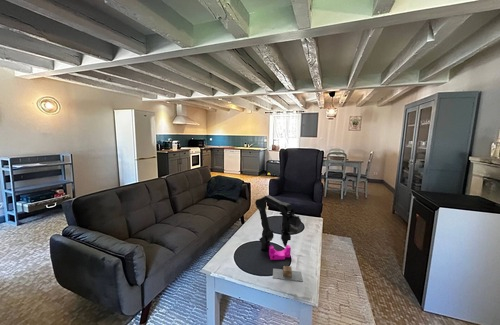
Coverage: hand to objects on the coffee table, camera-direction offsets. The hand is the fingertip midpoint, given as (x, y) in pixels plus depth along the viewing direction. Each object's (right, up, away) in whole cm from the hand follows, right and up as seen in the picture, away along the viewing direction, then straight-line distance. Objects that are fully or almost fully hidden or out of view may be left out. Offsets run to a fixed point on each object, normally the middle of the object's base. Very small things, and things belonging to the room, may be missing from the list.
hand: (285, 243), depth 143 cm
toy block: (-3, -13, +6) cm, 14 cm away
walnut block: (-1, -14, -14) cm, 20 cm away
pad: (-1, -15, -14) cm, 20 cm away
